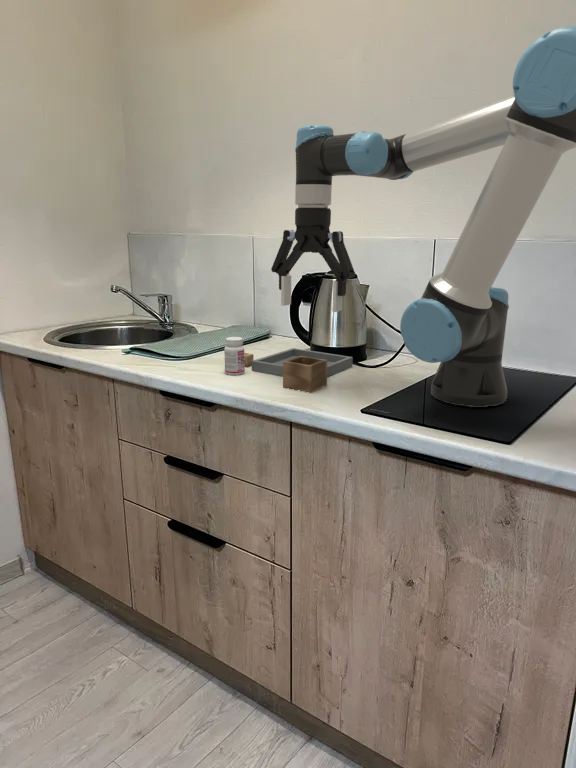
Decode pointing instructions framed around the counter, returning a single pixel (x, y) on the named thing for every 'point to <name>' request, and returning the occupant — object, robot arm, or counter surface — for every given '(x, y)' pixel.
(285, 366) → the walnut box
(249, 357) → the stained block
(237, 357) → the pill bottle
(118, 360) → the counter surface
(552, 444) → the counter surface
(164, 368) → the counter surface
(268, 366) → the tray
